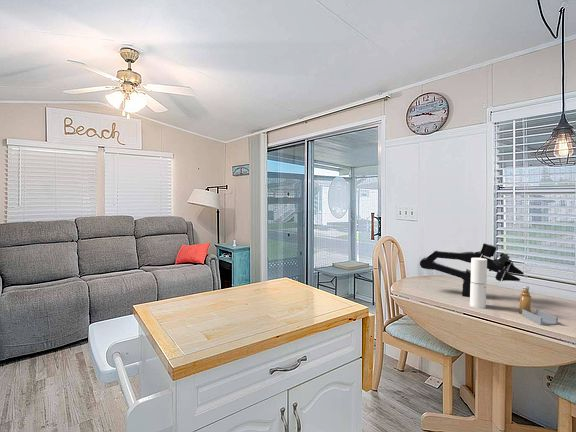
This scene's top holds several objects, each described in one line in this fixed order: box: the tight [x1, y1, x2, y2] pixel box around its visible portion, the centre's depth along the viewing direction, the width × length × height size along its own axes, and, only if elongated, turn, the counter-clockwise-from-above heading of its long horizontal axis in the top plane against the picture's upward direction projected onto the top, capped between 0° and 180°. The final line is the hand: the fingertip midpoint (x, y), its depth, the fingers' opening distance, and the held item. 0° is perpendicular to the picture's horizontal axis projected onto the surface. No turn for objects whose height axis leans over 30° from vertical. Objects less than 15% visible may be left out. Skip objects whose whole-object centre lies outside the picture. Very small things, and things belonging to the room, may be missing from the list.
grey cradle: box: [521, 308, 559, 326], centre depth 150 cm, size 11×8×3 cm
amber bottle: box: [519, 285, 532, 315], centre depth 158 cm, size 4×4×14 cm
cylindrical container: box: [469, 257, 488, 309], centre depth 169 cm, size 7×7×25 cm
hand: (521, 276), depth 173 cm, fingers open, 9 cm apart
